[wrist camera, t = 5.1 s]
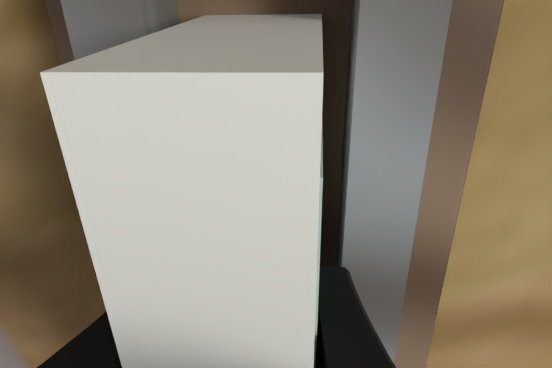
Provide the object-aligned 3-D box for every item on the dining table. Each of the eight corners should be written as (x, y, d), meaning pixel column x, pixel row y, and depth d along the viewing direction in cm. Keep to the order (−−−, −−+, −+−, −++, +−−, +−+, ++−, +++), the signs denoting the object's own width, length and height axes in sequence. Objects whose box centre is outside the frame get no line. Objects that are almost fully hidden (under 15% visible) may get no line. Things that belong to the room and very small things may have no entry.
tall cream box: (312, 383, 14) (306, 626, 9) (236, 378, 15) (187, 610, 9) (324, 14, 9) (329, 72, 4) (202, 15, 9) (34, 72, 4)
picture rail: (396, 457, 17) (409, 545, 15) (168, 437, 18) (143, 515, 16) (535, -251, 7) (656, -379, 5) (20, -215, 8) (-121, -304, 6)
